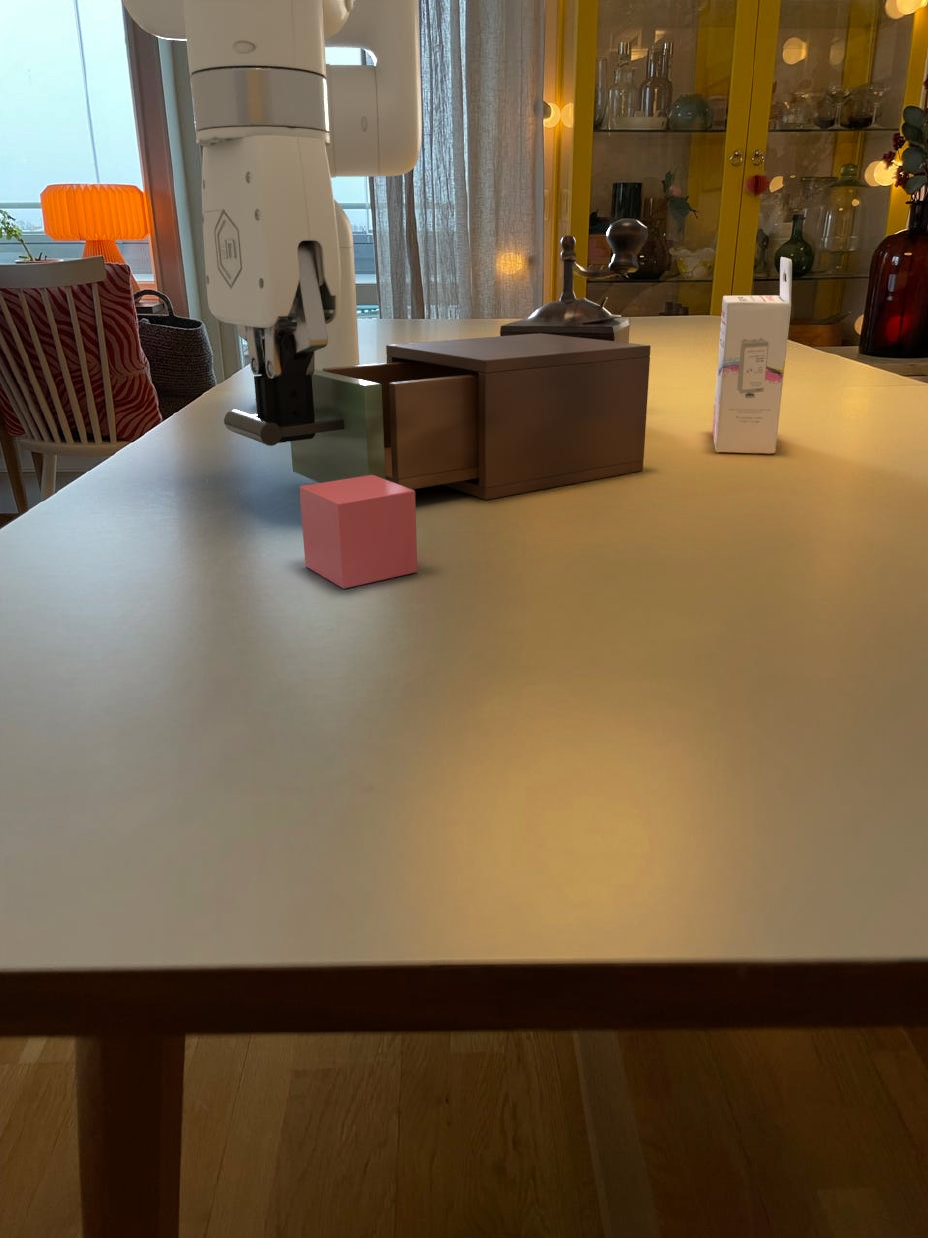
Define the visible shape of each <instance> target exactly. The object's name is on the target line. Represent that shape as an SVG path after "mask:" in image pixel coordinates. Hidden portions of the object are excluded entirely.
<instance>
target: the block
mask: <svg viewBox="0 0 928 1238" xmlns="http://www.w3.org/2000/svg"><path fill="white" fill-rule="evenodd" d="M299 500H300V513H301V525H302V539H303V551H304V564H305V565H304V566H305V567H306V568H308V569H309V570H311V571H312V572H315V573H316V574H318V575H320V576H321V577H323V578H325V579H326V580H328V581H330V582H331V583H333V584H334V585H336V586H338V587H340V588H341V589H342V590H343V589H348V588H353V587H357V586H362V585H366V584H370V583H371V584H372V583H375V582H379V581H383V580H388V579H392V578H397V577H401V576H406V575H411V574H415V573H418V544H417V543H418V542H417V512H416V491H415V489H409V488H406V487H404V486H401V485H398V484H396V483H393V482H390V481H388V480H385V479H382V478H380V477H377V476H374V475H368V476H362V477H355V478H349V479H343V480H336V481H330V482H324V483H319V482H317V483H312V484H306V485H300V486H299Z"/></svg>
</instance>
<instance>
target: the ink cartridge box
mask: <svg viewBox="0 0 928 1238" xmlns="http://www.w3.org/2000/svg"><path fill="white" fill-rule="evenodd" d="M779 261H780V262H779V265H780V266H779V295H723V296H722V303H721V310H720V311H721V312H720V313H721V314H720V315H721V316H720V326H719V327H720V328H719V329H720V330H719V343H718V357H717V368H716V381H715V394H714V404H713V405H714V407H713V417H712V429H711V431H712V432H711V433H712V438H713V444H714V451H715V453H738V454H768V455H769V454H770V455H771V454H775V453H776V450H777V443H778V433H779V422H780V415H781V404H782V403H781V402H782V395H783V386H784V378H785V377H784V375H785V367H786V359H787V351H788V349H787V348H788V342H789V341H788V340H789V331H790V321H791V311H792V283H793V282H792V281H793V261H792V259H791V258H788V257H785V256H784V257H783V256H781V257H780V260H779Z"/></svg>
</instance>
